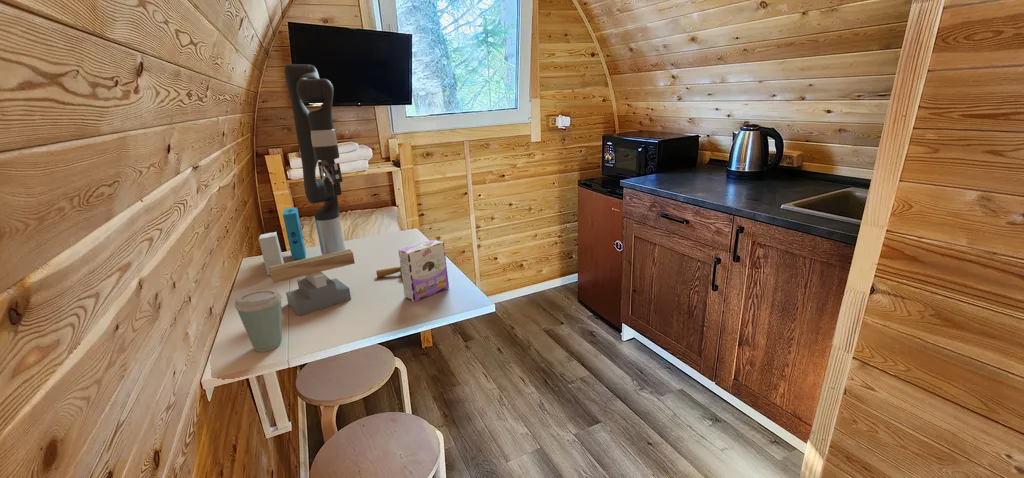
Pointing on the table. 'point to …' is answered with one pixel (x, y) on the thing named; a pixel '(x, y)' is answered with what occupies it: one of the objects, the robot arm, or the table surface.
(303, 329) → the table surface
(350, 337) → the table surface
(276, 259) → the skincare box
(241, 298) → the disposable coffee cup
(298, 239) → the block
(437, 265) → the candy box
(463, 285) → the table surface
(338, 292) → the ridge stand
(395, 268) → the kendama
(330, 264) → the oak beam
